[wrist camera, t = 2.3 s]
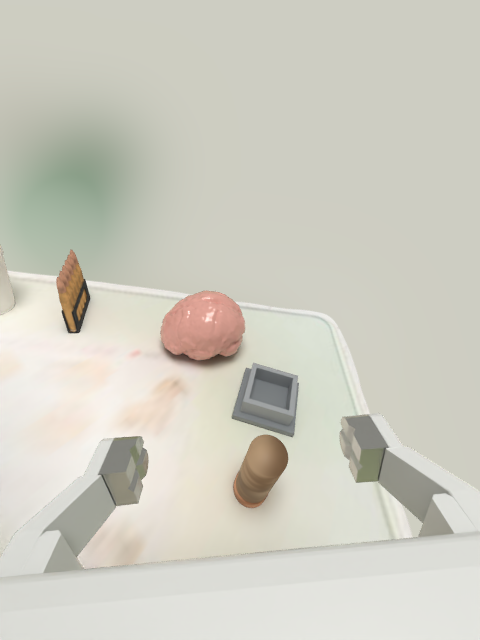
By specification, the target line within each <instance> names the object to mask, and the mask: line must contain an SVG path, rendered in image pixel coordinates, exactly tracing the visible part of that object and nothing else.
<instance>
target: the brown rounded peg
mask: <svg viewBox="0 0 480 640" xmlns="http://www.w3.org/2000/svg"><path fill="white" fill-rule="evenodd" d="M287 463H288V453H287V450H286V448H285V446H284V445H283V443H282V442H281V441H280V440H279V439H277V438H276V437H274V436H271V435H261V436H258V437H256V438H255V439H254V440H253V441H252V442H251V444H250V447H249V449H248V451H247V454H246V456H245V459H244V461H243V463H242V466H241V468H240V471H239V472H238V474H237V476H236V478H235V481H234V487H233V488H234V494H235V497H236V498H237V500H238V501H239V502H240V503H241V504H242V505H243V506H245V507H249V508H254V507H257V506H259V505H261V504H262V503H263V501H264V500H265V498H266V497H267V495H268V493H269V491H270V490H271V488H272V487H273V485H274V484H275V483H276V481H277V480H278V478H279V477H280V475H281V474H282V473H283V471H284V470H285V468H286V466H287Z"/></svg>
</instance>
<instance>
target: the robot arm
mask: <svg viewBox="0 0 480 640" xmlns="http://www.w3.org/2000/svg"><path fill="white" fill-rule="evenodd" d="M341 426H342V428H343V429H342V430H341V431H340V445H341V449H342V452H343V454H344V456H345V457H346V458H347V459H349V460H350V462H349V468H350V470H351V472H352V475H353V477H354V479H355V481H356V483H359V482H374V481H379V482H378V483H380V484H381V485H382V486H383V487H384V488H385V489H386V490H387V491H388V492H389V493H390V494H392V495H393V496H394V497H395V498H396V499H397V500H398V501H399V502H400V503H401V504H403V505H404V506H405V507H406V508H407V509H408V510H409V511H410V512H411V513H412V514H414V515H415V516H416V517H417V518H418V519H419V520H420V521H421V522H422V523H423V525H422V528H421V530H420V533H419V536H418V537H413V538H403V539H392V540H382V541H372V542H361V543H351V544H341V545H330V546H320V547H309V548H299V549H288V550H278V551H267V552H257V553H247V554H237V555H226V556H216V557H206V558H195V559H185V560H175V561H164V562H154V563H144V564H133V565H123V566H112V567H102V568H92V569H84V568H83V566H82V565H81V563H80V562H79V560H78V559H77V556H78V555H79V553H80V552H81V551H82V550H83V548H84V547H85V546H86V545H87V543H88V542H89V541H90V540H91V538H92V537H93V536H94V535H95V533H96V532H97V531H98V529H99V528H100V527H101V526H102V524H103V523H104V522H105V521H106V519H107V518H108V517H109V516H110V514H111V513H112V512H113V511H114V509H115V508H116V506H121V505H129V504H137V503H138V502H139V499H140V495H141V492H142V488H143V485H142V482H141V480H142V479H143V478H144V477H145V476H146V473H147V469H148V453H147V450H146V449H144V448H143V444H144V441H143V439H142V437H141V436H136V437H121V438H109V439H103V440H102V441H101V442H100V443H99V445H98V447H97V449H96V451H95V453H94V455H93V457H92V459H91V461H90V463H89V465H88V467H87V469H86V471H85V473H84V475H83V477H79V478H77V479H76V480H75V481H74V482H73V483H72V484H71V485H69V486H68V487H67V488H66V489H65V490H64V491H62V492H61V493H60V494H59V495H58V496H57V497H56V498H54V499H53V500H52V501H51V502H50V503H49V504H48V505H46V506H45V507H44V508H43V509H42V510H41V511H40V512H38V513H37V514H36V515H35V516H34V517H33V518H32V519H30V520H29V521H28V522H27V523H26V524H25V525H23V526H22V527H21V528H20V529H19V530H18V531H17V532H15V534H14V535H13V537H12V539H11V540H10V542H9V544H8V545H7V547H6V548H5V550H4V552H3V553H2V555H1V557H0V640H480V492H479V491H478V490H477V489H476V488H474V487H473V486H471V485H469V484H468V483H466V482H464V481H463V480H461V479H460V478H458V477H456V476H455V475H453V474H452V473H450V472H448V471H447V470H445V469H444V468H442V467H440V466H439V465H437V464H436V463H434V462H432V461H431V460H429V459H428V458H426V457H424V456H423V455H421V454H419V453H418V452H416V451H415V450H413V449H412V448H410V447H408V446H403V444H402V443H401V441H400V440H399V439H398V437H397V436H396V434H395V433H394V431H393V430H392V428H391V427H390V425H389V424H388V423H387V421H386V420H385V418H384V417H383V415H382V414H380V413H377V414H367V415H356V416H347V417H342V419H341Z"/></svg>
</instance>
